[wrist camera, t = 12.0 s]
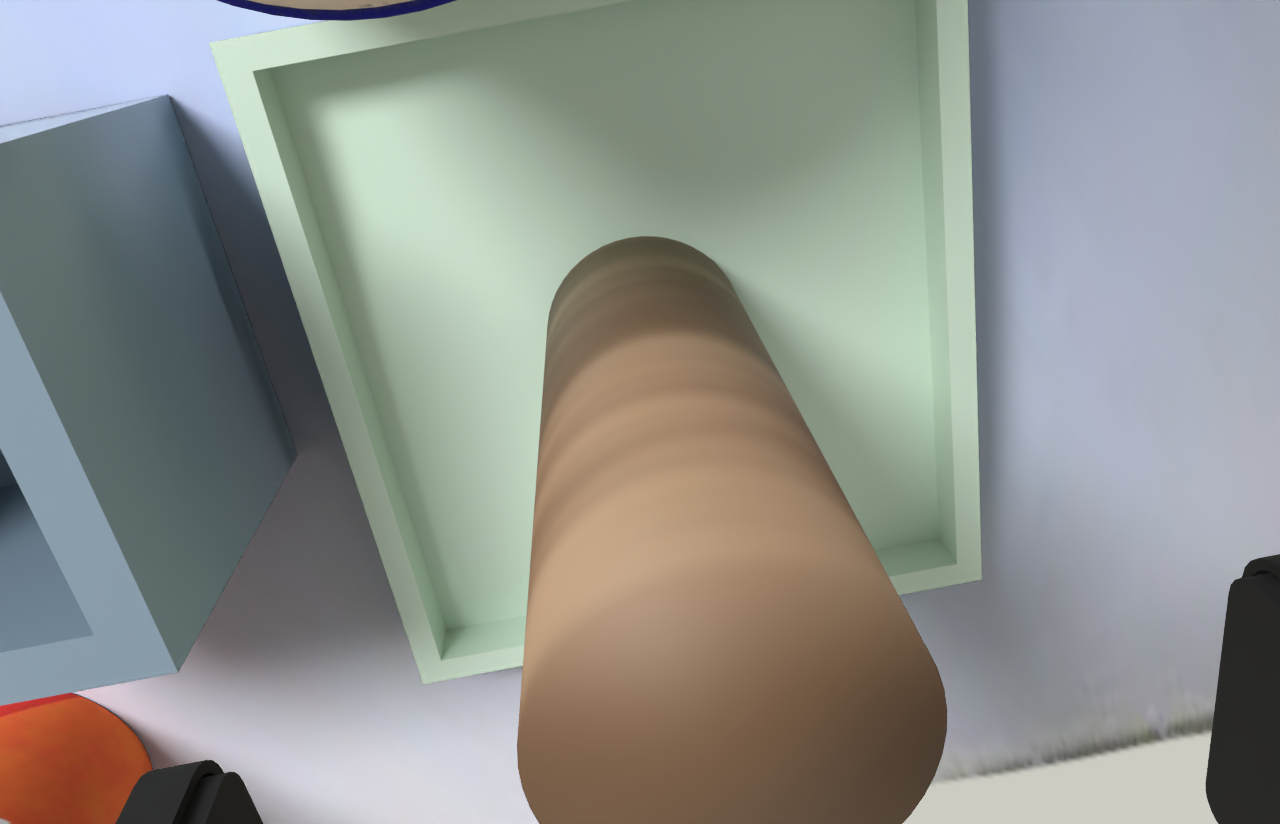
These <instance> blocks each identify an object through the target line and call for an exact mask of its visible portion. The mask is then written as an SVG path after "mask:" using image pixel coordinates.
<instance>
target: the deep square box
mask: <svg viewBox="0 0 1280 824" xmlns="http://www.w3.org/2000/svg"><path fill="white" fill-rule="evenodd" d="M296 457H297V453H296V450H295V447H294V444H293V442H292V439H291V436H290V433H289V430H288V428H287V425H286V422H285V419H284V416H283V414H282V411H281V408H280V405H279V403H278V400H277V397H276V394H275V391H274V389H273V386H272V383H271V380H270V377H269V375H268V372H267V369H266V366H265V363H264V361H263V358H262V355H261V352H260V349H259V347H258V344H257V341H256V338H255V335H254V333H253V330H252V327H251V324H250V322H249V319H248V316H247V313H246V310H245V308H244V305H243V302H242V299H241V296H240V294H239V291H238V288H237V285H236V282H235V280H234V277H233V274H232V271H231V268H230V266H229V263H228V260H227V257H226V255H225V252H224V249H223V246H222V243H221V241H220V238H219V235H218V232H217V229H216V227H215V224H214V221H213V218H212V215H211V213H210V210H209V207H208V204H207V201H206V199H205V196H204V193H203V190H202V187H201V185H200V182H199V179H198V176H197V174H196V171H195V168H194V165H193V162H192V160H191V157H190V154H189V151H188V148H187V146H186V143H185V140H184V137H183V134H182V132H181V129H180V126H179V123H178V120H177V118H176V115H175V112H174V109H173V107H172V104H171V101H170V98H169V95H163V96H158V97H152V98H147V99H141V100H136V101H131V102H125V103H120V104H115V105H109V106H104V107H99V108H93V109H88V110H82V111H77V112H72V113H66V114H61V115H56V116H50V117H45V118H40V119H34V120H29V121H23V122H18V123H13V124H7V125H2V126H0V706H2V705H7V704H13V703H18V702H23V701H29V700H34V699H39V698H45V697H50V696H55V695H61V694H66V693H71V692H77V691H82V690H87V689H93V688H98V687H103V686H109V685H114V684H119V683H125V682H130V681H135V680H141V679H146V678H151V677H157V676H162V675H167V674H173V673H178V672H179V670H180V668H181V666H182V664H183V663H184V661H185V659H186V657H187V655H188V653H189V652H190V650H191V648H192V646H193V644H194V643H195V641H196V639H197V637H198V635H199V633H200V632H201V630H202V628H203V626H204V624H205V622H206V621H207V619H208V617H209V615H210V613H211V612H212V610H213V608H214V606H215V604H216V602H217V601H218V599H219V597H220V595H221V593H222V591H223V590H224V588H225V586H226V584H227V582H228V581H229V579H230V577H231V575H232V573H233V571H234V570H235V568H236V566H237V564H238V562H239V561H240V559H241V557H242V555H243V553H244V551H245V550H246V548H247V546H248V544H249V542H250V540H251V539H252V537H253V535H254V533H255V531H256V530H257V528H258V526H259V524H260V522H261V520H262V519H263V517H264V515H265V513H266V511H267V510H268V508H269V506H270V504H271V502H272V500H273V499H274V497H275V495H276V493H277V491H278V489H279V488H280V486H281V484H282V482H283V480H284V479H285V477H286V475H287V473H288V471H289V469H290V468H291V466H292V464H293V462H294V460H295V459H296Z"/></svg>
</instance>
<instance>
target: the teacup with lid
mask: <svg viewBox="0 0 1280 824" xmlns="http://www.w3.org/2000/svg"><path fill="white" fill-rule="evenodd" d="M218 1H221V2H224V3H227V4H230V5H233V6H236V7H241V8H245V9H249V10H254V11H258V12H262V13H267V14H271V15H278V16H285V17H293V18H301V19H309V20H339V21H352V20H364V19H377V18H387V17H393V16H398V15H403V14H409V13H414V12H419V11H424V10H427V9H430V8H433V7H437V6H440V5H443V4H447V3H450V2H453V1H457V0H218Z"/></svg>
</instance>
